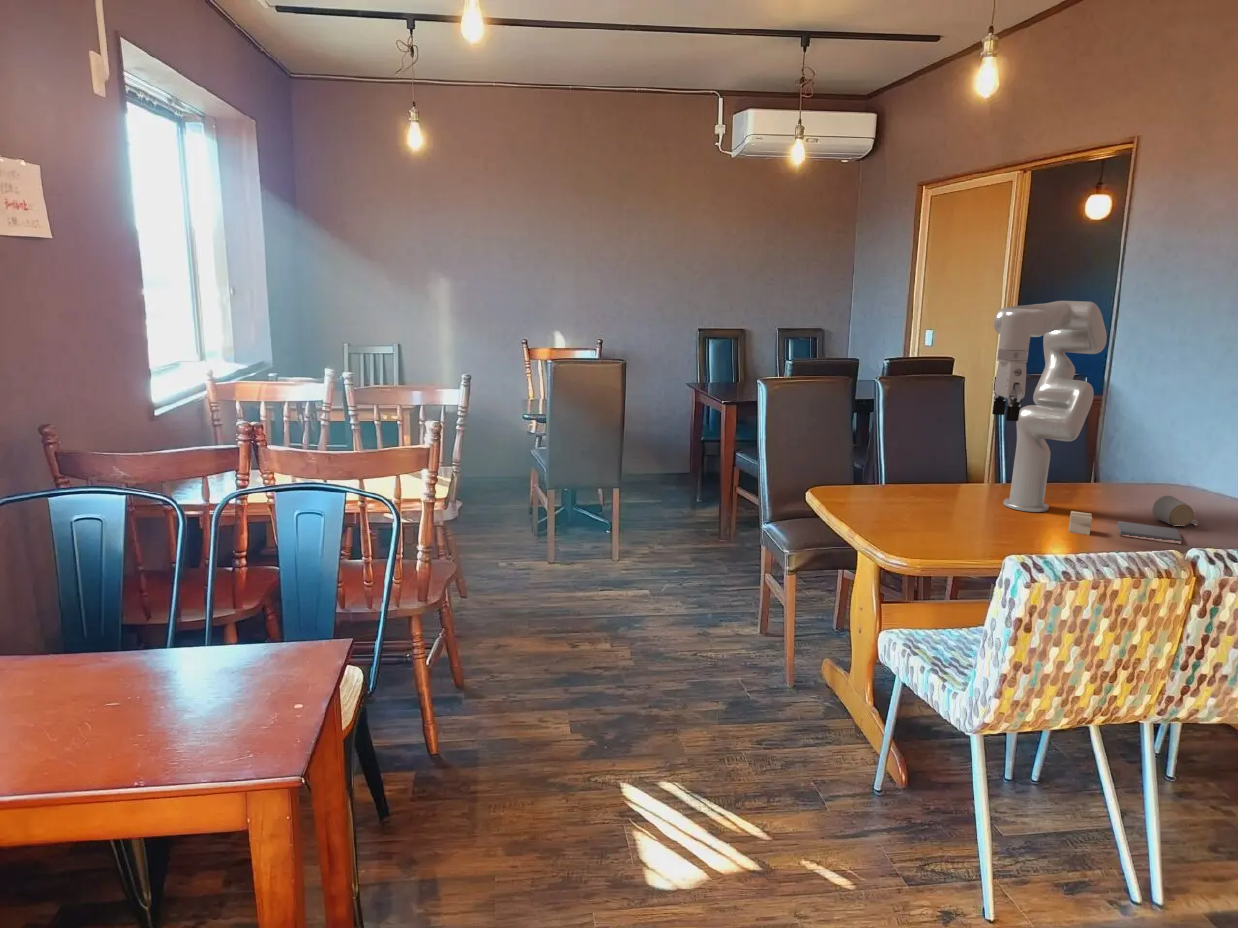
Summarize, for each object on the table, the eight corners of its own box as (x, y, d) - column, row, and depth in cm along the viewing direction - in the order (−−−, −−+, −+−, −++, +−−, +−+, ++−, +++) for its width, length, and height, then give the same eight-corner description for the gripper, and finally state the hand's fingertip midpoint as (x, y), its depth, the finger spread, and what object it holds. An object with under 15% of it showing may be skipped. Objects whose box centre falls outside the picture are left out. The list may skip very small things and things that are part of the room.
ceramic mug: (1168, 528, 232) (1173, 502, 230) (1149, 519, 240) (1154, 494, 238) (1204, 529, 232) (1210, 503, 230) (1184, 520, 240) (1190, 495, 238)
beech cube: (1068, 527, 231) (1071, 511, 229) (1088, 530, 228) (1091, 513, 227) (1068, 532, 226) (1071, 515, 225) (1089, 535, 224) (1092, 518, 223)
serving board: (1117, 526, 233) (1118, 521, 232) (1175, 533, 226) (1176, 528, 226) (1120, 536, 223) (1121, 531, 223) (1180, 544, 217) (1181, 539, 217)
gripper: (1040, 359, 213) (1031, 423, 217) (1014, 353, 230) (1006, 412, 234) (1010, 359, 214) (1002, 423, 218) (987, 352, 231) (980, 412, 235)
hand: (1004, 417), depth 226 cm, fingers open, 9 cm apart
